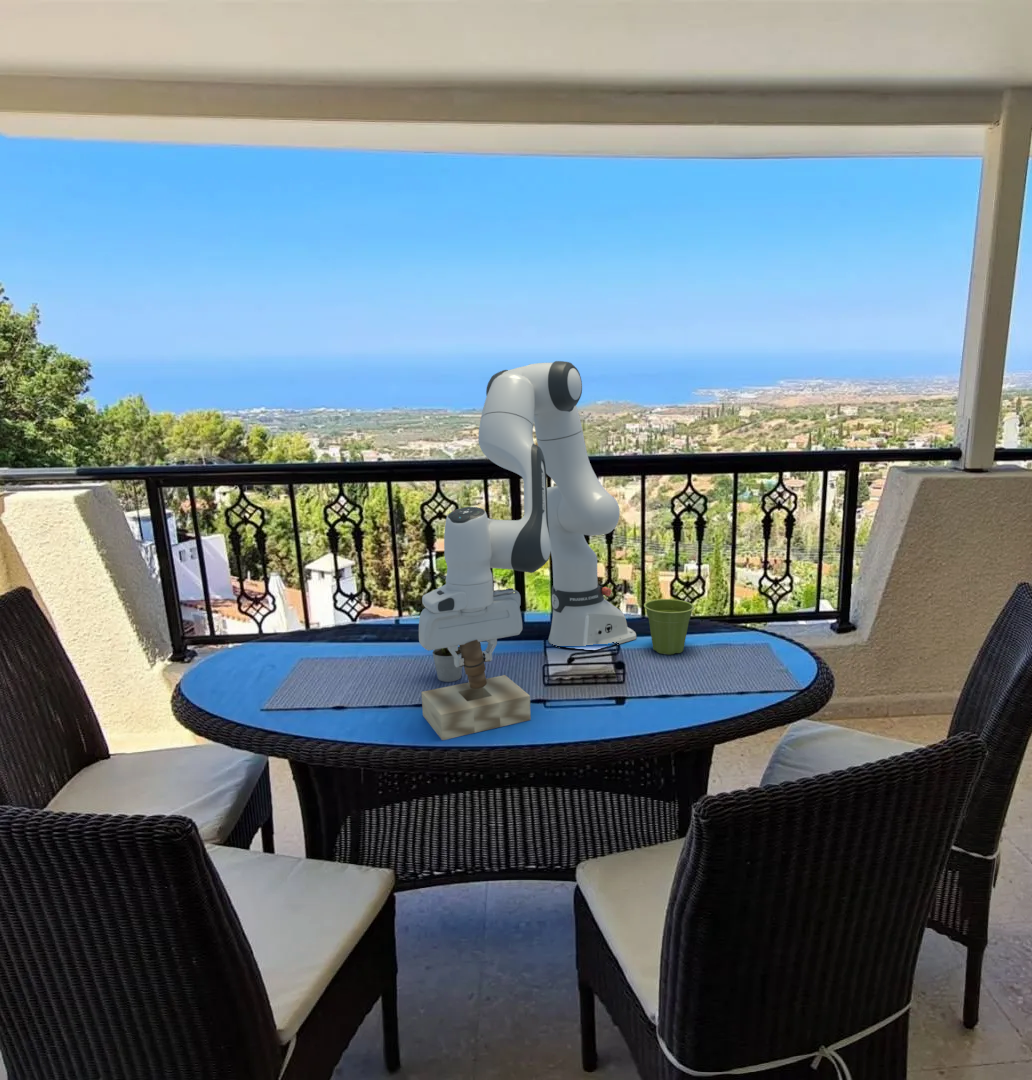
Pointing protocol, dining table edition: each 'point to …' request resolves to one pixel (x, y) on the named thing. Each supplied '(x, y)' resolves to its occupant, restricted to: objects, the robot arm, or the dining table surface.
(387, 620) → the dining table surface
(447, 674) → the house plant
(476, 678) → the peg
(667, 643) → the plant pot
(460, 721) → the seat block
